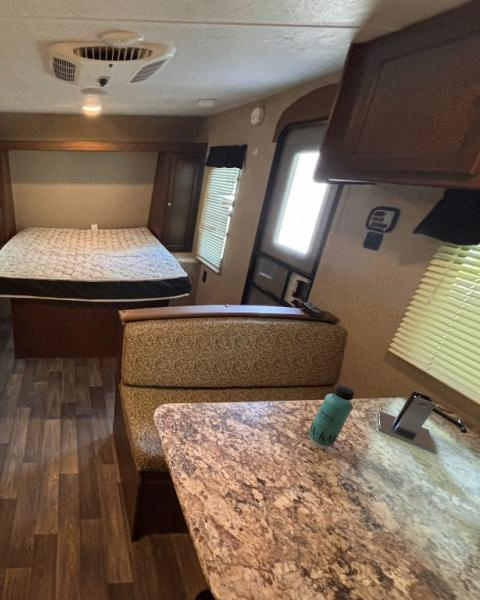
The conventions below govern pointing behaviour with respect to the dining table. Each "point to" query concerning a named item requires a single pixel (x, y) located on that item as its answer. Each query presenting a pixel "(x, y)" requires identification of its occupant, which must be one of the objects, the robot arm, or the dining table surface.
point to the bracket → (410, 421)
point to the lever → (448, 417)
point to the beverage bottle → (332, 416)
